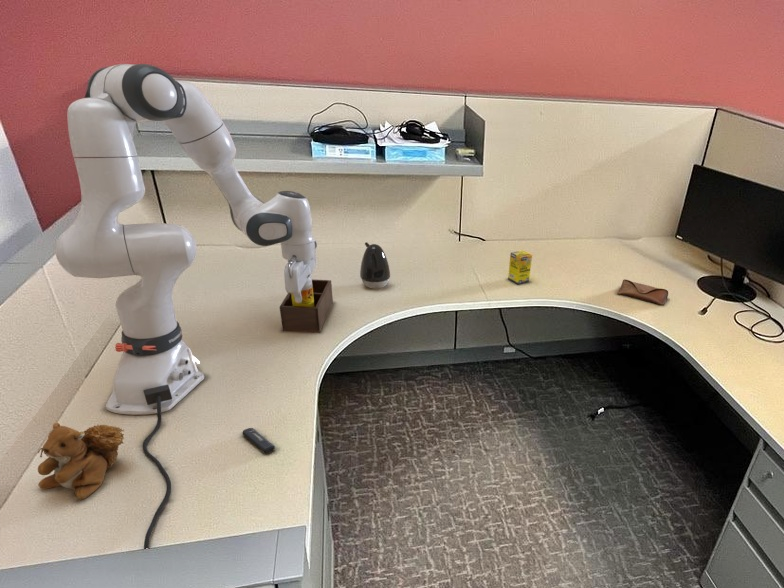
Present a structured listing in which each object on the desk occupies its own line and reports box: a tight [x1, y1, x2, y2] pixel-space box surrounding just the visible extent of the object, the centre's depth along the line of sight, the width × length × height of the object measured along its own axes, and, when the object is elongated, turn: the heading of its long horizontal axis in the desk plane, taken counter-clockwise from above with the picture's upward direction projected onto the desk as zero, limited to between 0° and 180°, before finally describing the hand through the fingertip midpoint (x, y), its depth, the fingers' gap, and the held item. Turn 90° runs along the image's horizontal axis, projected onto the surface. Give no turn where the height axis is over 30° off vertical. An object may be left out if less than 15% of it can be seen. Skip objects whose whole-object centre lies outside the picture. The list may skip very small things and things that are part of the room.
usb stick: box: [242, 427, 276, 455], centre depth 123 cm, size 10×3×2 cm, turn 51°
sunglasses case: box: [616, 278, 669, 306], centre depth 211 cm, size 18×7×7 cm
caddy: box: [279, 278, 334, 334], centre depth 173 cm, size 20×11×8 cm, turn 5°
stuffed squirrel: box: [37, 422, 125, 500], centre depth 107 cm, size 10×14×13 cm
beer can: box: [291, 274, 315, 307], centre depth 166 cm, size 6×6×15 cm
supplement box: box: [507, 249, 533, 285], centre depth 211 cm, size 6×6×11 cm
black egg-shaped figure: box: [359, 241, 391, 290], centre depth 194 cm, size 10×10×15 cm
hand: (303, 295), depth 165 cm, fingers open, 8 cm apart
